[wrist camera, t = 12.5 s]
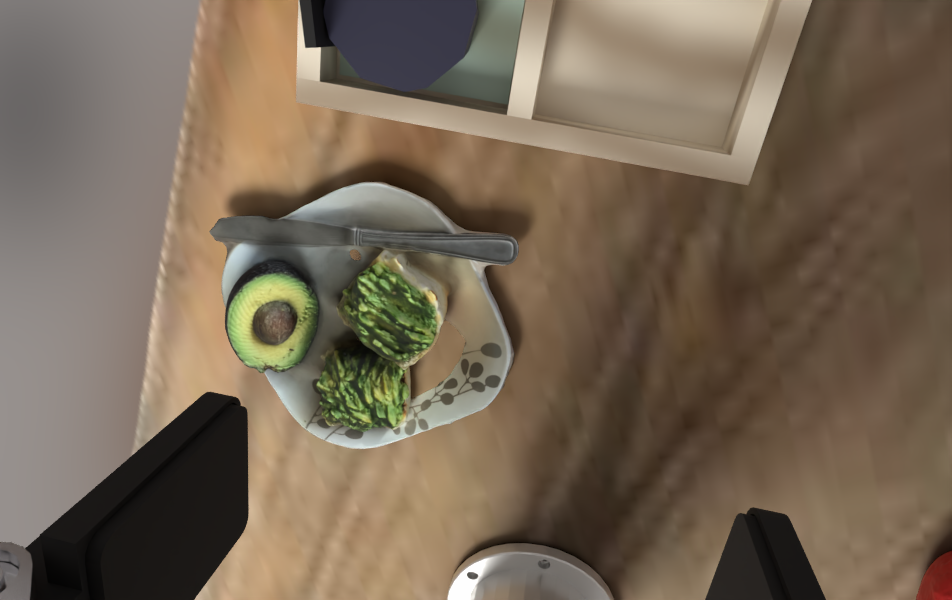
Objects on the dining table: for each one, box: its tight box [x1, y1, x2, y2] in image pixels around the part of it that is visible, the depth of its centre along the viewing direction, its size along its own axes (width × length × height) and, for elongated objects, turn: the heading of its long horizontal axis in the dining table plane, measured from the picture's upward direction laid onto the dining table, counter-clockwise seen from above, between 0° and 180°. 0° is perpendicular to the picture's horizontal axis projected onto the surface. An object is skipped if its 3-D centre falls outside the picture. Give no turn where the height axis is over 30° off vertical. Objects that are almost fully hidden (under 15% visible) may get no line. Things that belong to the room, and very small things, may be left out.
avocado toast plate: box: [209, 182, 519, 449], centre depth 37 cm, size 19×18×5 cm
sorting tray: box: [296, 0, 812, 185], centre depth 29 cm, size 12×23×3 cm, turn 82°
